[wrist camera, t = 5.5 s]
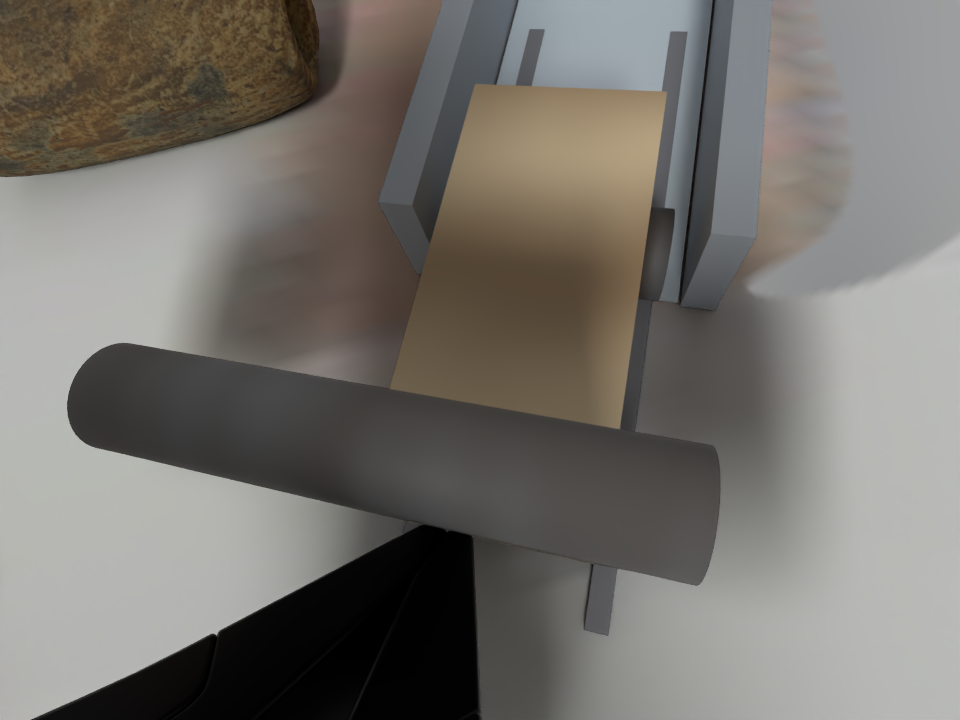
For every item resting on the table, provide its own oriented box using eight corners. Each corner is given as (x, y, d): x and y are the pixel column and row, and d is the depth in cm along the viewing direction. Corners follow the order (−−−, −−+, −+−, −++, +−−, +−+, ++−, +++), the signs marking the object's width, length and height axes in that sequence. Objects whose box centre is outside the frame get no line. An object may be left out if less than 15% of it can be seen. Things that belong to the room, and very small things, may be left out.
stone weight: (5, 242, 22) (-213, 120, 16) (19, 118, 25) (-164, -29, 19) (349, 132, 21) (259, -42, 15) (326, 15, 24) (241, -174, 18)
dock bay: (683, 654, 14) (741, 703, 9) (333, 564, 16) (233, 565, 11) (747, -52, 21) (797, -223, 17) (508, -48, 23) (492, -199, 19)
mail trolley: (621, 570, 14) (783, 605, 3) (404, 520, 15) (9, 427, 5) (664, 238, 17) (821, -312, 6) (480, 220, 18) (350, -260, 8)
